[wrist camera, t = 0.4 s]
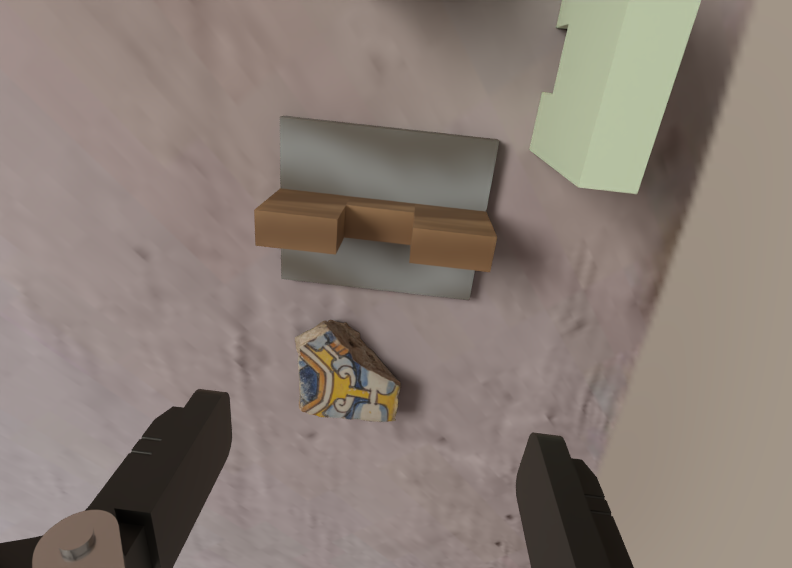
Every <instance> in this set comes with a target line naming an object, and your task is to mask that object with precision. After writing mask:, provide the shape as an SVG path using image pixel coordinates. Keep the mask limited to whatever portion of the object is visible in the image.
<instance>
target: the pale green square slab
mask: <svg viewBox="0 0 792 568" xmlns="http://www.w3.org/2000/svg"><path fill="white" fill-rule="evenodd" d="M700 2H701V0H562V3H561V7H560V12H559V17H558V21H557V26H556V28H563V29H567V34H566V38H565V43H564V47H563V51H562V56H561V60H560V64H559V69H558V73H557V78H556V82H555V86H554V91H553V93H546V92H542V95H541V99H540V104H539V108H538V113H537V117H536V122H535V127H534V131H533V136H532V140H531V145H530V151H531V152H533V153H534V154H535V155H537V156H538V157H539V158H541V159H542V160H543V161H545V162H546V163H547V164H548V165H550V166H551V167H552V168H554V169H555V170H556V171H558V172H559V173H560V174H561V175H563V176H564V177H565V178H567V179H568V180H569V181H571V182H572V183H573V184H574V185H576V186H577V187H579V188H588V189H597V190H606V191H615V192H624V193H633V194H637V193H638V190H639V187H640V184H641V181H642V178H643V175H644V172H645V169H646V166H647V163H648V160H649V157H650V154H651V151H652V148H653V145H654V141H655V138H656V135H657V132H658V129H659V126H660V123H661V120H662V117H663V114H664V111H665V108H666V105H667V102H668V99H669V96H670V93H671V90H672V87H673V84H674V81H675V78H676V75H677V72H678V69H679V66H680V63H681V60H682V57H683V54H684V51H685V48H686V45H687V42H688V39H689V36H690V33H691V30H692V26H693V23H694V20H695V17H696V14H697V11H698V8H699V5H700Z"/></svg>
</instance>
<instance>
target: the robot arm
mask: <svg viewBox="0 0 792 568" xmlns="http://www.w3.org/2000/svg"><path fill="white" fill-rule="evenodd" d="M231 442H232V426H231V410H230V397H229V394H228V393H227V392H219V391H212V390H204V389H198V390H196V391H195V393H194V394H193V395H192V397H191V398H190V400H189V401H188V402H187V404H186V405H185V407H184V408H182V407H174V406H173V407H172V408H170V409H169V410H167V411H166V412H165V413H163V414H162V415H160V416H159V417H157V418H156V419H155V420H154V421H153V422H152V424H151V425H150V426H149V427H148V429H147V430H146V431H145V433H144V434H143V435H142V439H139V441H138V442H137V443H136V445H135V446H134V447H133V449H132V452H131V453H129V454H128V455H127V457H126V458H125V459H124V461H123V462H122V463H121V465H120V466H119V467H118V469H117V470H116V471H115V473H114V474H113V475H112V477H111V478H110V479H109V480H108V482H107V483H106V484H105V486H104V487H103V488H102V490H101V491H100V492H99V494H98V495H97V496H96V498H95V499H94V500H93V502H92V503H91V504H90V506H89V507H88V508H87V509H86V510H85V511H82V512H79V513H76V514H73V515H71V516H68V517H67V518H65V519H63V520H61V521H60V522H58V523H57V524H55V525H54V526H53V527H52V528H50V529H49V530H48V531H47V532H46V533H45V534H44V535H43V536H39V537H34V538H29V539H23V540H17V541H11V542H5V543H0V568H173V566H174V564H175V562H176V560H177V558H178V556H179V554H180V552H181V550H182V548H183V546H184V544H185V542H186V540H187V538H188V536H189V534H190V532H191V530H192V528H193V526H194V524H195V522H196V520H197V518H198V516H199V514H200V512H201V510H202V508H203V506H204V504H205V502H206V500H207V498H208V496H209V494H210V492H211V490H212V488H213V486H214V484H215V482H216V480H217V478H218V476H219V474H220V472H221V470H222V468H223V466H224V464H225V462H226V460H227V457H228V455H229V451H230V447H231ZM516 496H517V502H518V506H519V511H520V516H521V521H522V526H523V531H524V535H525V540H526V545H527V550H528V555H529V559H530V564H531V568H634V567H633V565H632V562H631V559H630V557H629V555H628V552H627V550H626V547H625V545H624V542H623V540H622V537H621V535H620V533H619V530H618V528H617V526H616V523H615V520H614V518H613V517H612V516H611V511H610V508H609V506H608V503H607V501H606V500H605V499H604V497H605V496H604V494H603V491H602V489H601V487H600V484H599V481H598V479H597V477H596V476H595V475H594V473H593V472H592V471H591V470H590V469H589V467H588V466H587V465H586V464H585V463H584V462H583V460H580V459H573V458H571V457H570V454H569V451H568V448H567V446H566V443H565V441H564V439H563V437H561V436H556V435H549V434H541V433H531V434H530V436H529V439H528V442H527V445H526V448H525V451H524V454H523V457H522V460H521V463H520V467H519V470H518V473H517V478H516Z"/></svg>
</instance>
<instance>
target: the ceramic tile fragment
mask: <svg viewBox="0 0 792 568" xmlns="http://www.w3.org/2000/svg"><path fill="white" fill-rule="evenodd" d="M295 343H296V349H297V352H298V353H299V359H298V368H299V391H300V400H299V408H300V410H301V411H302V412H306V413H308V414H309V415H317V416H319V417H327V418H329V417H332V418H345V419H360V420H366V421H379V422H385V421H386V422H388V421H396V420H395V419H394V418H395V416H396V413H397V412H396V411H397V408H398V395H399V393H400V392H399V391H400V386H401V384H400V381H399V380H397V379H396V378H395V377H394V376H393V375H392V374H391V372H390V371H389V370H388V369H387V368H386V367H385V365H384V364H383V363H382V362H381V361H380V359H379V358H378V357H377V356H376V354H375V353H374V352H373V351H372V350H371V349H369V348H367V346H366V345H365V344H364V343H363V341H362V340H361V339H360V333H359V332H357V331H355V330H353V329H352V328H351V327H349V326H348V324H347V323H340V322H336V321H333V320H329V321H328V322H327V321H323V322H321V323H320V324H318V325H317V326H316V327H315V328H313V329H311V330H308V331H306V332H304V333H303V334H301V335H299V336H297V337H295Z"/></svg>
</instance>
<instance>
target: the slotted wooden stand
mask: <svg viewBox="0 0 792 568" xmlns="http://www.w3.org/2000/svg"><path fill="white" fill-rule="evenodd" d="M498 146H499V140H498V139H490V138H481V137H472V136H463V135H454V134H445V133H436V132H427V131H418V130H409V129H400V128H391V127H381V126H372V125H363V124H354V123H345V122H336V121H327V120H318V119H309V118H300V117H291V116H281V117H280V184H281V188H280V189H279V190H278V191H277V192H276V193H274V194H273V195H272V196H271V197H269V198H268V199H267V200H266V201H265V202H263V203H262V204H261V205H260V206H258V207H257V208H256V209H255V210H254V215H255V243H256V246H264V247H273V248H281V278H282V279H288V280H297V281H306V282H314V283H323V284H332V285H341V286H349V287H358V288H367V289H376V290H384V291H393V292H402V293H411V294H419V295H428V296H437V297H446V298H454V299H463V300H469V299H470V294H471V289H472V283H473V278H474V273H475V271H484V272H490V270H491V265H492V260H493V255H494V250H495V246H496V241H497V236H496V233H495V231H494V229H493V226H492V224H491V222H490V219H489V217H488V215H487V212H486V209H487V204H488V199H489V193H490V188H491V183H492V178H493V172H494V167H495V162H496V156H497V151H498Z"/></svg>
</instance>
